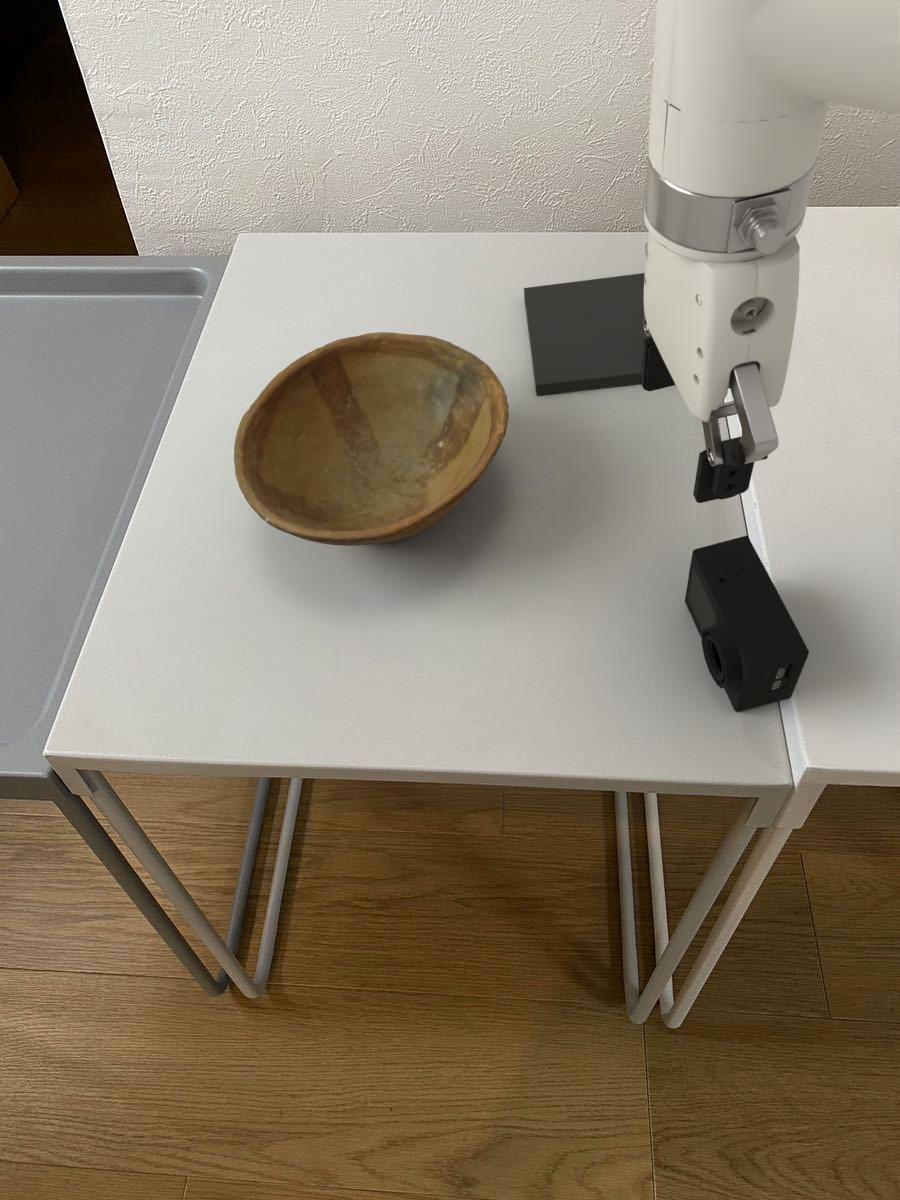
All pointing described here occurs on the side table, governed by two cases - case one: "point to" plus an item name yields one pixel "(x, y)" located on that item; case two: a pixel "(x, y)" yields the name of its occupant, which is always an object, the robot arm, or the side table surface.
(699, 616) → the digital camera
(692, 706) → the side table surface
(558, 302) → the scale
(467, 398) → the bowl
